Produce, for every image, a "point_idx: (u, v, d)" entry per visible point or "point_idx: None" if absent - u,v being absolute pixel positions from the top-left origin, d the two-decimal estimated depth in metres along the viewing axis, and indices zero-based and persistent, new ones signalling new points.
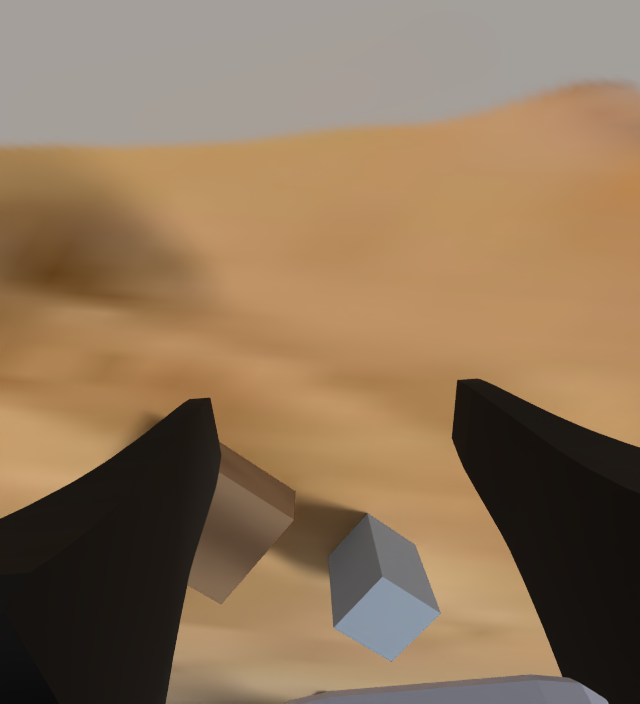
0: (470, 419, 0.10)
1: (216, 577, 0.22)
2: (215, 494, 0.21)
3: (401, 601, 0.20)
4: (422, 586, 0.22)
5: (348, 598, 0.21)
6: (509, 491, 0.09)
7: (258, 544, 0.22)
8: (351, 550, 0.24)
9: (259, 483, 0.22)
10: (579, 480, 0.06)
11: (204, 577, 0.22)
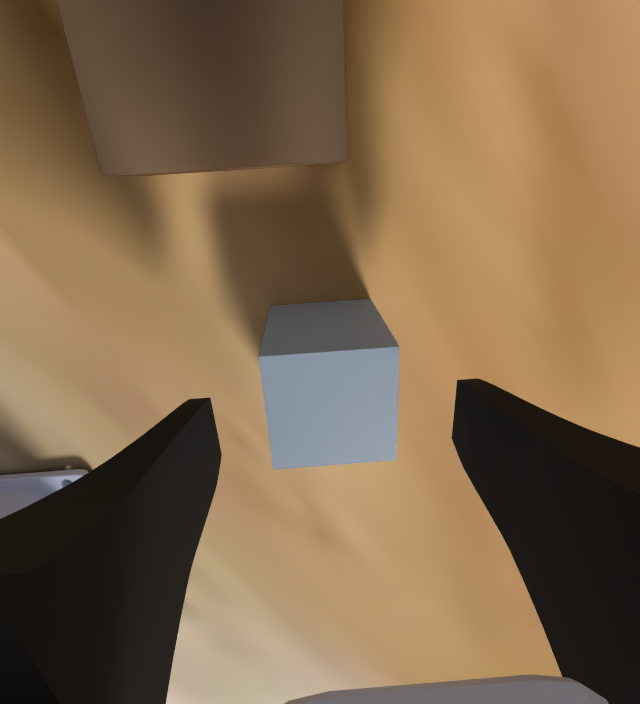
0: (470, 419, 0.10)
1: (140, 120, 0.11)
2: None
3: (378, 402, 0.12)
4: None
5: (307, 343, 0.12)
6: (509, 491, 0.09)
7: (260, 139, 0.11)
8: (326, 313, 0.14)
9: None
10: (580, 480, 0.06)
11: (119, 97, 0.10)
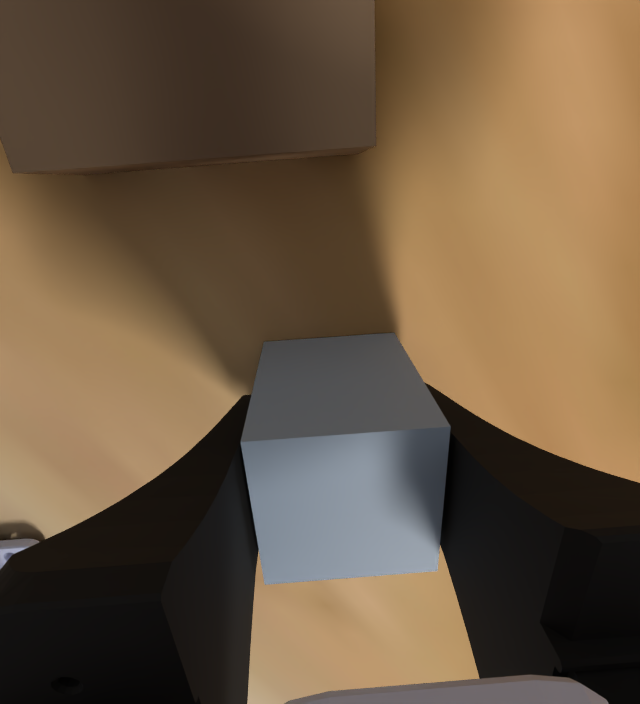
0: None
1: (63, 89, 0.07)
2: None
3: (415, 500, 0.08)
4: None
5: (313, 416, 0.08)
6: None
7: (246, 116, 0.07)
8: (338, 357, 0.11)
9: None
10: (487, 487, 0.06)
11: (29, 52, 0.07)
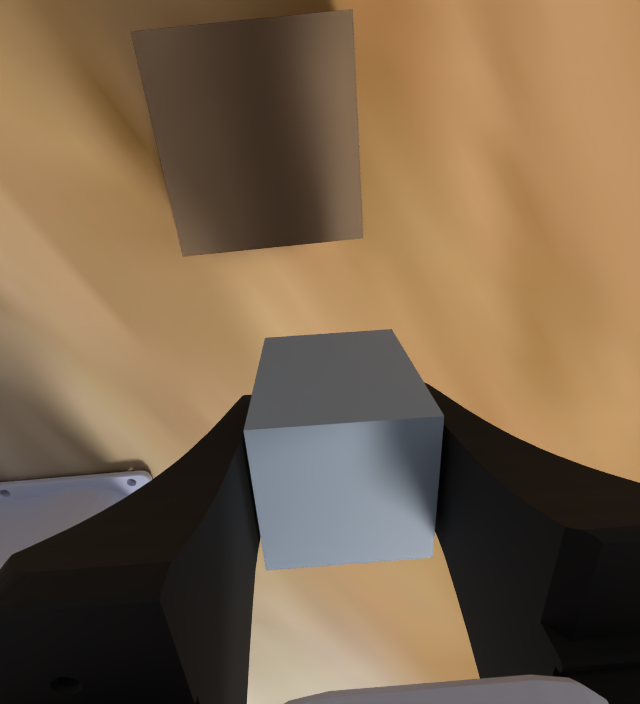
0: None
1: (211, 218, 0.15)
2: (322, 112, 0.13)
3: (410, 487, 0.09)
4: None
5: (313, 406, 0.08)
6: (442, 496, 0.09)
7: (298, 227, 0.15)
8: (337, 352, 0.11)
9: None
10: (487, 487, 0.06)
11: (197, 203, 0.14)
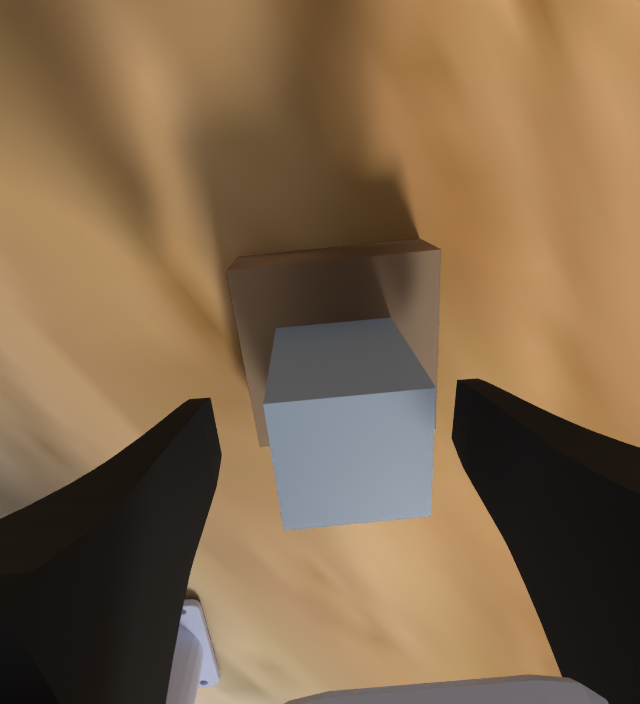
0: (470, 419, 0.10)
1: None
2: (405, 330, 0.14)
3: (409, 452, 0.10)
4: None
5: (322, 383, 0.10)
6: (509, 491, 0.09)
7: None
8: (342, 339, 0.12)
9: None
10: (579, 480, 0.06)
11: None
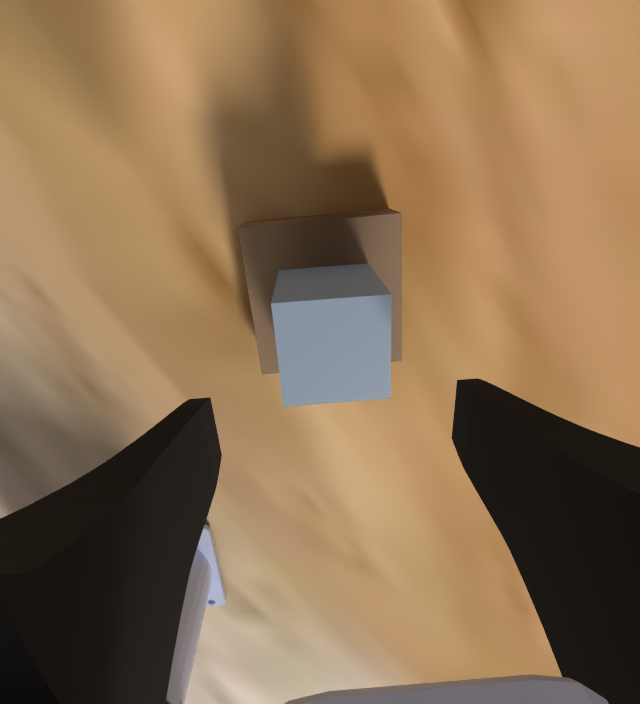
0: (470, 419, 0.10)
1: None
2: None
3: (374, 344, 0.14)
4: None
5: (312, 294, 0.14)
6: (509, 491, 0.09)
7: None
8: (329, 274, 0.16)
9: None
10: (579, 480, 0.06)
11: None
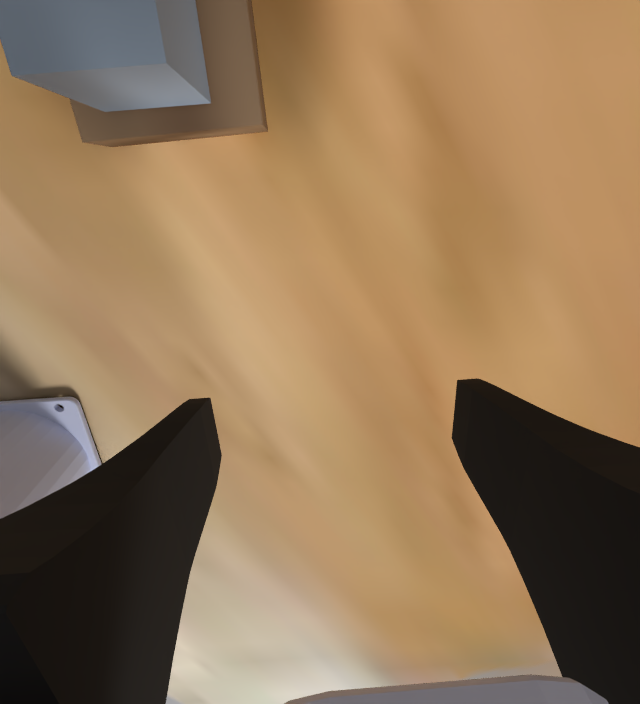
0: (470, 419, 0.10)
1: None
2: None
3: None
4: (175, 41, 0.11)
5: None
6: (509, 491, 0.09)
7: (196, 111, 0.15)
8: None
9: (256, 55, 0.15)
10: (579, 480, 0.06)
11: None
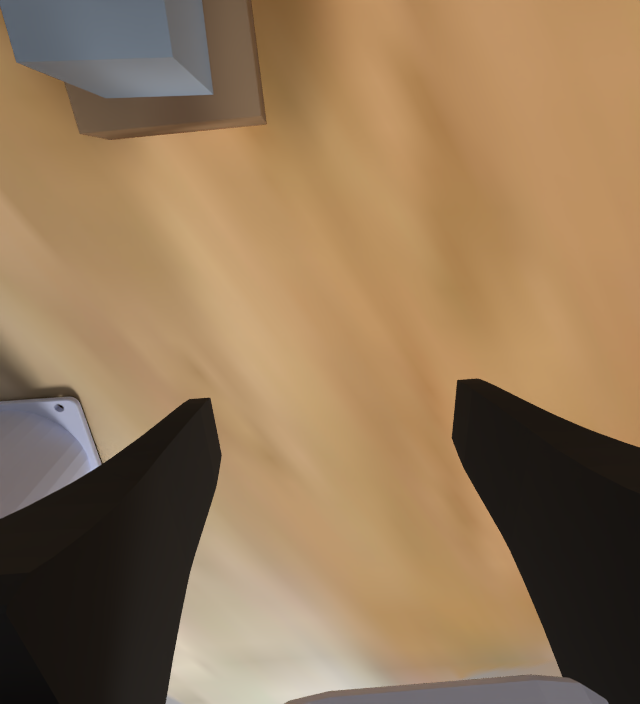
0: (470, 419, 0.10)
1: None
2: None
3: None
4: (181, 34, 0.11)
5: None
6: (509, 491, 0.09)
7: (194, 102, 0.15)
8: None
9: (254, 46, 0.15)
10: (579, 480, 0.06)
11: None
